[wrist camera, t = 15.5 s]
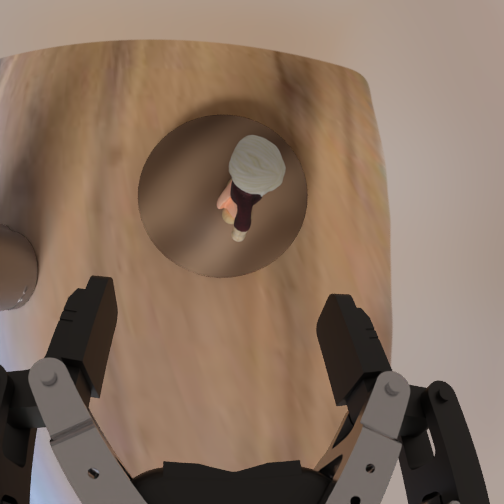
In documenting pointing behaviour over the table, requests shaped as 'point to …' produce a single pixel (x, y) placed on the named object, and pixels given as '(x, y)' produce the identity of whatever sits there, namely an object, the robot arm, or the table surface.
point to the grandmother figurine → (249, 181)
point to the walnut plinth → (206, 195)
